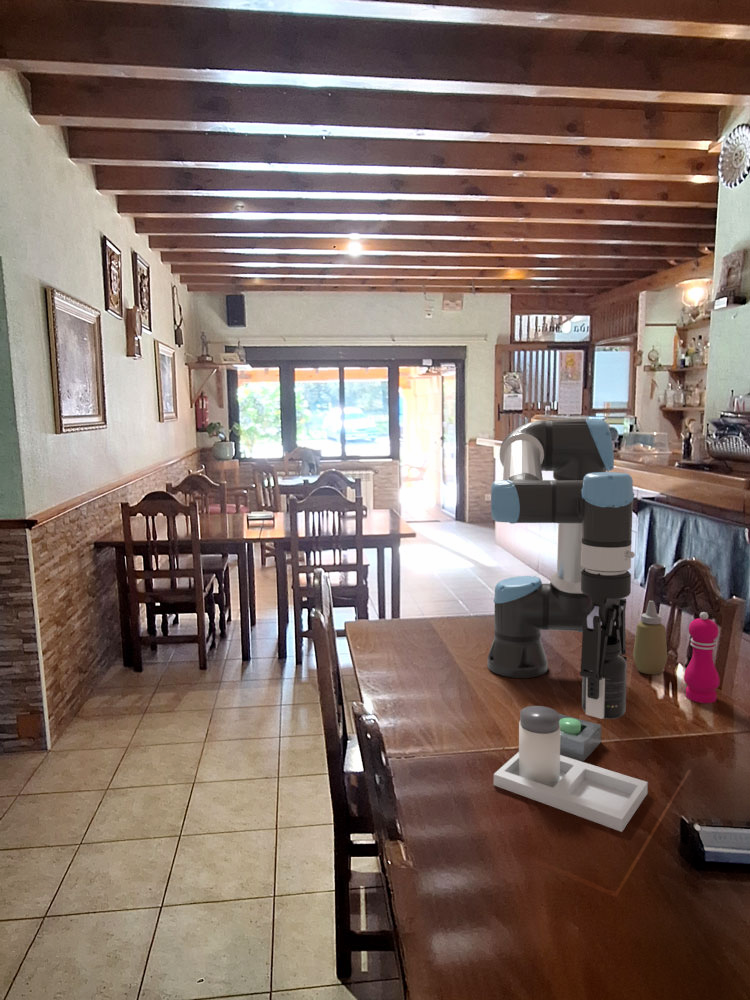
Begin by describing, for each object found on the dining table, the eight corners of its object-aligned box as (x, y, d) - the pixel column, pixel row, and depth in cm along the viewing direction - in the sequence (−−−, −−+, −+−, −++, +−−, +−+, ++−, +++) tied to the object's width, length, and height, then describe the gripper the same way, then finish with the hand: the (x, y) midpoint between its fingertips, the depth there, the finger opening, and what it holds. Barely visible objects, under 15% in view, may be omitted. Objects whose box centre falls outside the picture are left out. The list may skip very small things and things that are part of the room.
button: (555, 739, 127) (556, 723, 127) (564, 731, 130) (564, 716, 130) (575, 745, 125) (576, 729, 125) (583, 736, 128) (584, 721, 128)
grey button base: (538, 749, 127) (538, 729, 127) (557, 731, 134) (557, 713, 134) (583, 763, 122) (583, 743, 121) (600, 744, 129) (601, 725, 128)
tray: (493, 787, 114) (493, 774, 114) (526, 757, 124) (526, 744, 124) (621, 834, 101) (622, 819, 100) (647, 796, 111) (647, 782, 110)
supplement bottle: (574, 703, 110) (576, 634, 109) (614, 701, 111) (615, 632, 110) (591, 721, 104) (593, 647, 102) (633, 719, 104) (635, 645, 103)
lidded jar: (512, 781, 115) (512, 716, 114) (529, 764, 121) (529, 702, 119) (549, 794, 111) (550, 726, 110) (566, 776, 116) (566, 711, 115)
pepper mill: (723, 705, 145) (726, 617, 142) (687, 703, 146) (691, 616, 144) (713, 692, 152) (716, 608, 149) (679, 690, 153) (682, 607, 151)
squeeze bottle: (665, 666, 168) (667, 598, 166) (668, 678, 160) (670, 606, 158) (631, 663, 170) (633, 596, 168) (633, 675, 163) (634, 604, 161)
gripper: (608, 585, 94) (605, 737, 97) (648, 561, 110) (645, 693, 113) (558, 579, 99) (556, 723, 102) (604, 556, 114) (601, 683, 117)
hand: (603, 707), depth 107 cm, fingers closed on supplement bottle, 7 cm apart
